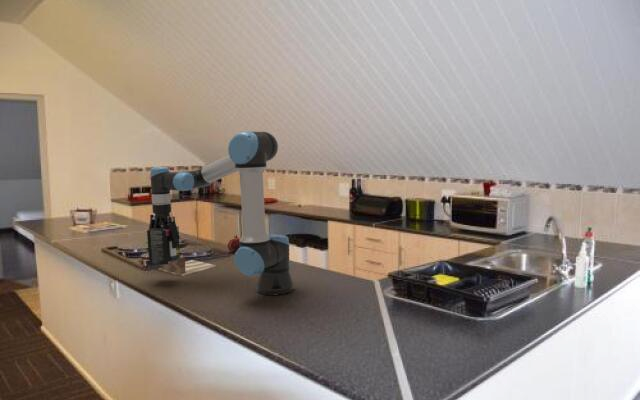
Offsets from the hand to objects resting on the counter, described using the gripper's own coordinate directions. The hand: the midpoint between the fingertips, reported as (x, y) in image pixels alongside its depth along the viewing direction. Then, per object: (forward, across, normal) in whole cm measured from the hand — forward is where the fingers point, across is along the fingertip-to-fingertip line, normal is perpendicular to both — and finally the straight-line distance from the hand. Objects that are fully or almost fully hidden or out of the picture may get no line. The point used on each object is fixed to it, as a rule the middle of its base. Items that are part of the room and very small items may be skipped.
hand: (164, 254), depth 211 cm
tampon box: (+3, 0, 0) cm, 3 cm away
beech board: (+13, +12, -21) cm, 27 cm away
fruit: (+13, +16, -57) cm, 60 cm away
